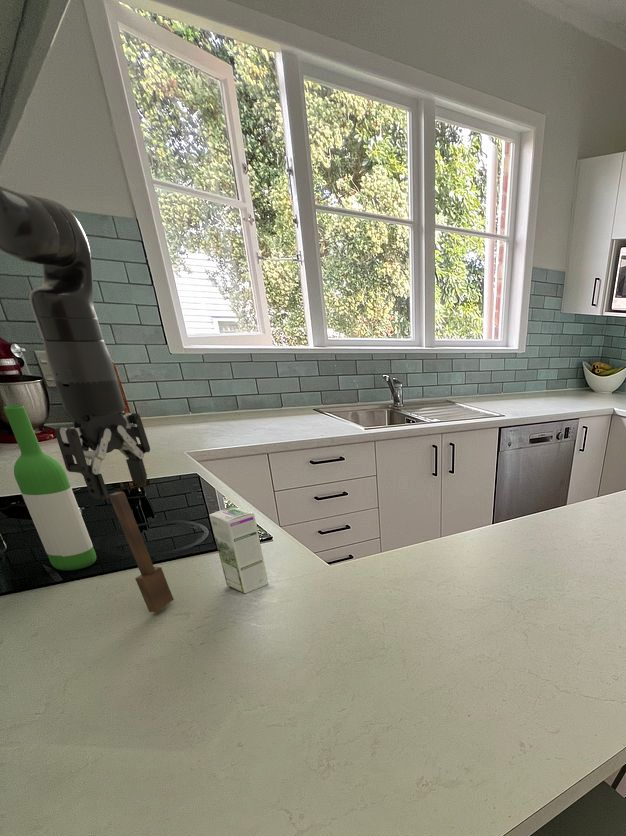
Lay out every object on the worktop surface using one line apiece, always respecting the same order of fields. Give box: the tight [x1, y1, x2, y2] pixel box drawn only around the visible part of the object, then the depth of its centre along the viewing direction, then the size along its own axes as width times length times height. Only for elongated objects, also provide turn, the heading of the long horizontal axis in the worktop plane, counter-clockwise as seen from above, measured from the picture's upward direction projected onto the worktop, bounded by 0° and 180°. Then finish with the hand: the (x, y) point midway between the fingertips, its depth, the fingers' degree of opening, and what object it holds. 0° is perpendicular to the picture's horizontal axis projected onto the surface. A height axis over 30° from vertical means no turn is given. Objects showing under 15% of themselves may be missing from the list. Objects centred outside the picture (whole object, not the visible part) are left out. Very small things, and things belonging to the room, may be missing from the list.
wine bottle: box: [3, 404, 97, 572], centre depth 102 cm, size 8×8×30 cm
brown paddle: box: [108, 491, 174, 613], centre depth 90 cm, size 20×5×1 cm
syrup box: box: [208, 506, 269, 594], centre depth 101 cm, size 6×6×14 cm
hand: (121, 490), depth 85 cm, fingers open, 8 cm apart
